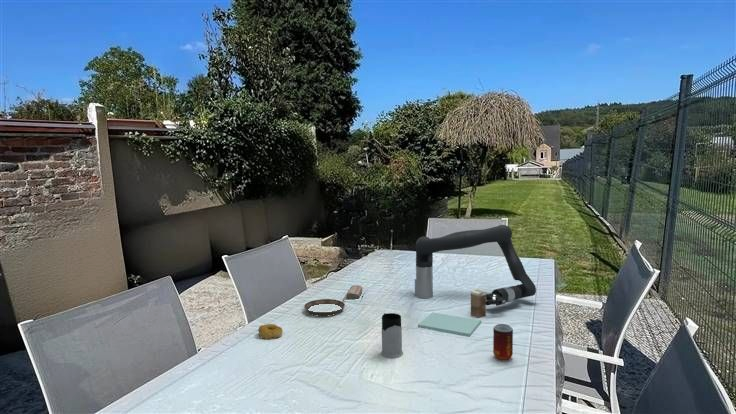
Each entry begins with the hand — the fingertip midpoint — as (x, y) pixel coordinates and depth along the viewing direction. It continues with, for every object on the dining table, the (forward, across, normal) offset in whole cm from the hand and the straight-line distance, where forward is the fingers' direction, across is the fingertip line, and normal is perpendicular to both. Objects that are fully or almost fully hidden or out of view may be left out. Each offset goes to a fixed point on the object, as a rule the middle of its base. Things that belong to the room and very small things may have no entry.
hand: (479, 300), depth 211 cm
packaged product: (+37, -60, +8) cm, 71 cm away
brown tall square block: (+1, 0, +7) cm, 7 cm away
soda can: (+26, +39, +7) cm, 47 cm away
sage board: (+21, +2, +7) cm, 22 cm away
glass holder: (+59, +10, +7) cm, 60 cm away
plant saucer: (+61, -48, +8) cm, 78 cm away
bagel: (+94, -32, +8) cm, 100 cm away
